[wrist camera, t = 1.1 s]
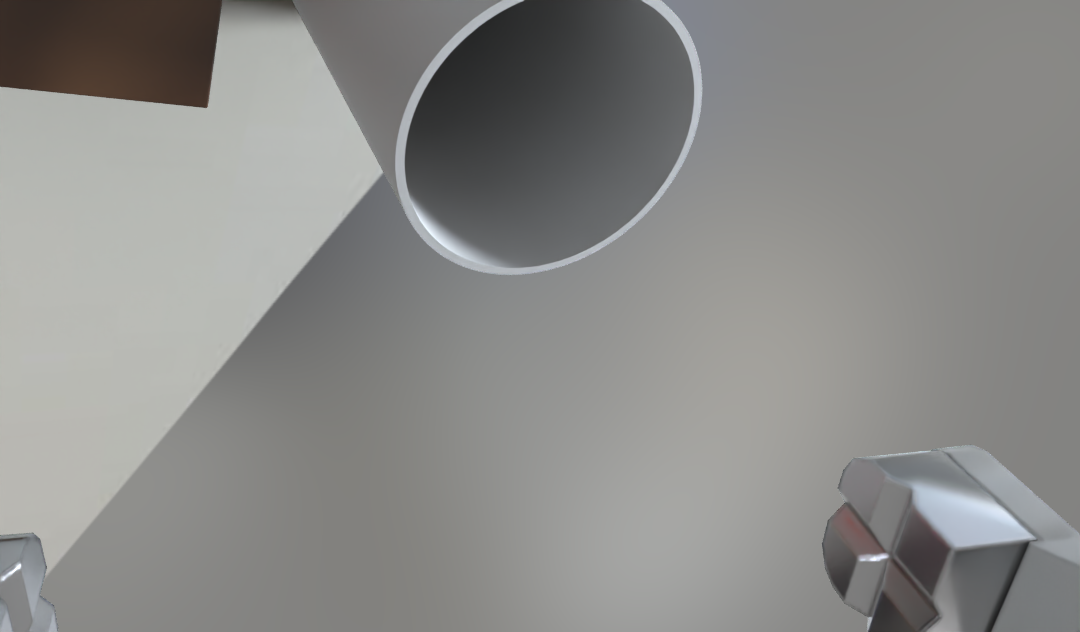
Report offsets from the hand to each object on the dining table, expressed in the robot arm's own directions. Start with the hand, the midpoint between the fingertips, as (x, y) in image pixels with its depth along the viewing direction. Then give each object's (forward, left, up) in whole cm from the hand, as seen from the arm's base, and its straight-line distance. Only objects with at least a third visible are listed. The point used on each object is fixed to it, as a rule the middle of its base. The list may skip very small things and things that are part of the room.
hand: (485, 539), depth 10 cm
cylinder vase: (+7, +14, -48) cm, 50 cm away
